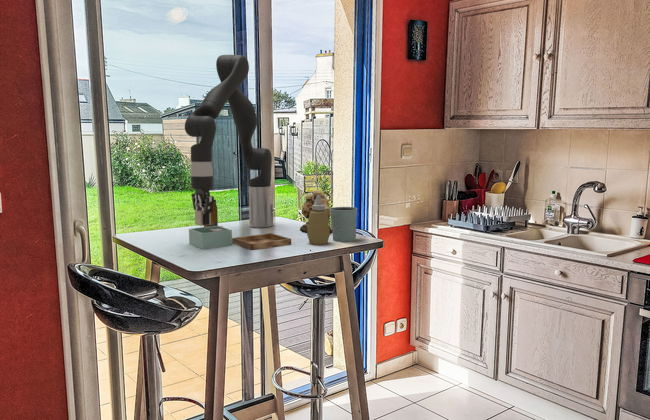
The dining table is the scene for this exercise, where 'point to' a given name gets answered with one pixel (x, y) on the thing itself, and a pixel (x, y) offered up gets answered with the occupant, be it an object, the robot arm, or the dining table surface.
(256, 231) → the dining table surface
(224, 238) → the teal bin
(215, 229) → the grey brown block
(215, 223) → the condiment
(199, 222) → the beige matte cube
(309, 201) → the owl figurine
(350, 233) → the grey green cup
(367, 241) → the dining table surface
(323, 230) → the squeeze bottle
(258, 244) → the walnut tray
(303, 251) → the dining table surface
